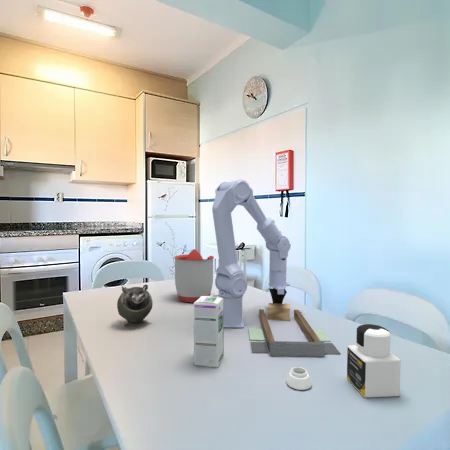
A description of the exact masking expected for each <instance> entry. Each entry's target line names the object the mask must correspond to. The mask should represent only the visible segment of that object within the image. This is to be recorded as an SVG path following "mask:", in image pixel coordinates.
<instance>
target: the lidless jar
mask: <svg viewBox="0 0 450 450" xmlns="http://www.w3.org/2000/svg"><path fill="white" fill-rule="evenodd" d="M285 383H286V385H287V386H288V387H290V388H292V389H293V390H294V389H295V390H299V391H305V390H309V389H310V388H312V386H313V382H312V379H311V377H310V375H309V373H308V371H307V369H306V368H304V367H301V366H294V367H292V368H291V369H290V371H289V373H288V374H287V376H286V379H285Z"/></svg>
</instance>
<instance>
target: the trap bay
mask: <svg viewBox="0 0 450 450" xmlns="http://www.w3.org/2000/svg"><path fill="white" fill-rule="evenodd" d="M249 344H250V349H251V353H252V354H269V356H270V357H307V358H308V357H309V358H311V357H312V358H314V357H315V358H316V357H317V358H319V357H320V358H321V357H322V358H325V355H341V352H340V350H339V349H337V347H336V346H335V344H334V343H332V342H309V341H286V340H285V341H283V340H282V341H281V340H280V341H279V340H277V341H276V340H275V341H269V350H268V347H267V343H266V341H250V343H249Z"/></svg>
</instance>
